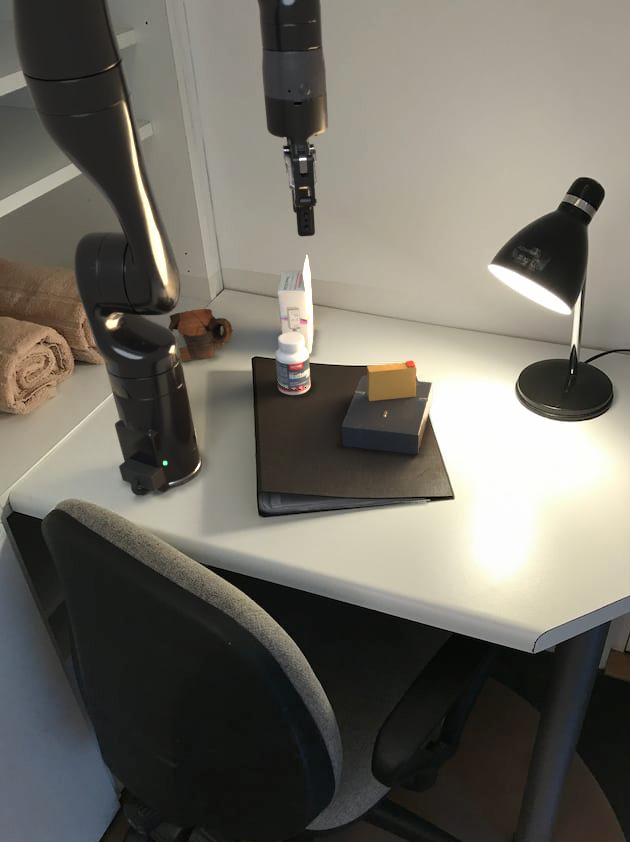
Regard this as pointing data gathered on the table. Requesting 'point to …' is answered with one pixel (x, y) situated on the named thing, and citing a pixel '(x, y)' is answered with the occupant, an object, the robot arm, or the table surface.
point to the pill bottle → (292, 363)
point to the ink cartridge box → (296, 303)
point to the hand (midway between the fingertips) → (303, 223)
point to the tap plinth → (387, 420)
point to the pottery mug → (200, 333)
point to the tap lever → (391, 381)
